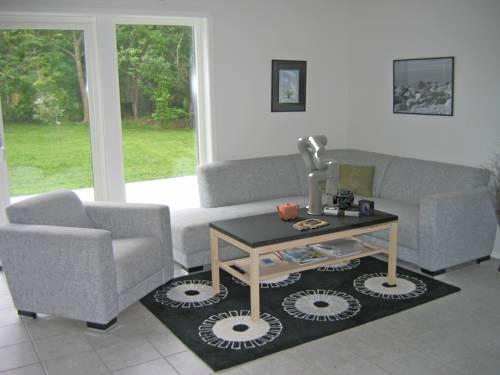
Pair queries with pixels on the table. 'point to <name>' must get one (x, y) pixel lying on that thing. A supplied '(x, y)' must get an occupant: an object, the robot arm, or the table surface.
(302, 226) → the button housing
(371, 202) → the small box
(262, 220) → the table surface
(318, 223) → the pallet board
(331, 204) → the metal billet
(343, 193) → the decorative stone
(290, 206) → the teapot
